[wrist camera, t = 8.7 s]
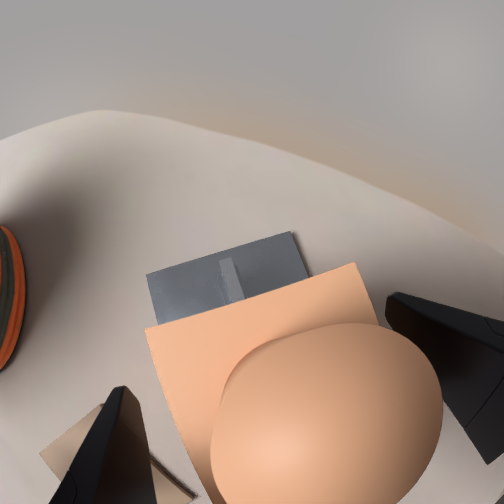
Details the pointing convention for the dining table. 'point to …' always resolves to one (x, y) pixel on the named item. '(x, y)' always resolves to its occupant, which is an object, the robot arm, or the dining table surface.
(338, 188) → the dining table surface
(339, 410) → the arched stamp block
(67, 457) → the thin square tan tile
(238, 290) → the grey finned plate
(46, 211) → the dining table surface
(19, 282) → the beer stein
